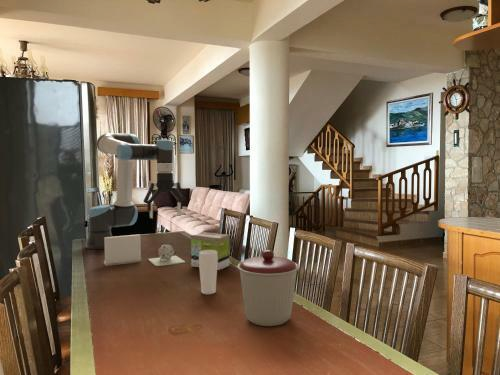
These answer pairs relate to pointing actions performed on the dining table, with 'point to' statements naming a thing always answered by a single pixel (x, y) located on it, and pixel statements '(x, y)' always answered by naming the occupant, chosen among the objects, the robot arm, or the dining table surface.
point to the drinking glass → (208, 270)
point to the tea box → (210, 247)
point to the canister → (268, 288)
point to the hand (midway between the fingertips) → (165, 216)
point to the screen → (122, 250)
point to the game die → (166, 252)
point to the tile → (166, 261)
